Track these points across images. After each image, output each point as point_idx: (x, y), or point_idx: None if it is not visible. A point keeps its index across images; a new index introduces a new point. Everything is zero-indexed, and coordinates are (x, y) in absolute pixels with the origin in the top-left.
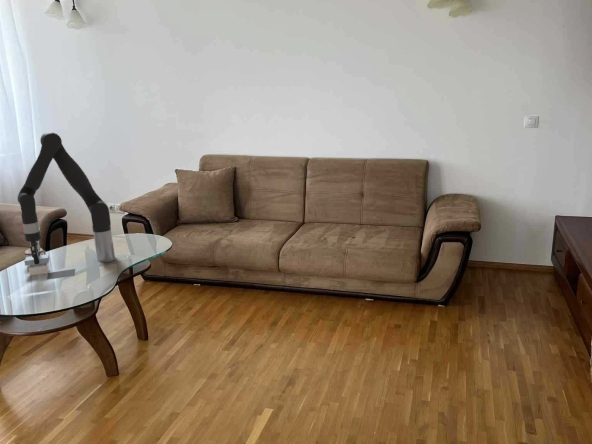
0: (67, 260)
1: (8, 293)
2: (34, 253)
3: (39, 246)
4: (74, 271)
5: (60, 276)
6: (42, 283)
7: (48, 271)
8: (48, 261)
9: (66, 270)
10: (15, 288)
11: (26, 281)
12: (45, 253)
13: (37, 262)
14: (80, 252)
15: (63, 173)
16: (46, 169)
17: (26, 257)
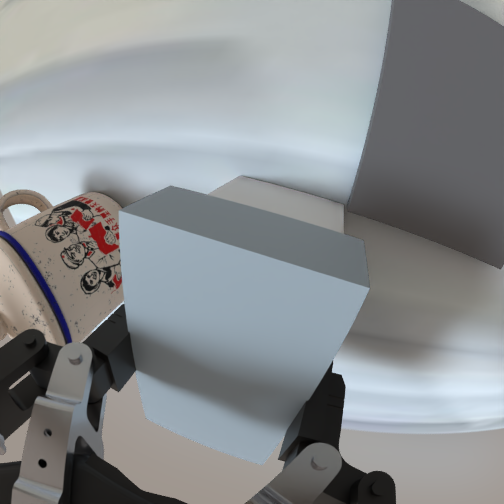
0: (87, 43)
1: (448, 427)
2: (57, 326)
3: (36, 428)
4: (468, 9)
5: None
6: (496, 296)
7: (342, 213)
8: (362, 247)
9: (399, 44)
10: (421, 409)
11: (366, 363)
12: (12, 194)
13: (341, 389)
14: (33, 8)
15: None
16: None
17: (158, 422)
